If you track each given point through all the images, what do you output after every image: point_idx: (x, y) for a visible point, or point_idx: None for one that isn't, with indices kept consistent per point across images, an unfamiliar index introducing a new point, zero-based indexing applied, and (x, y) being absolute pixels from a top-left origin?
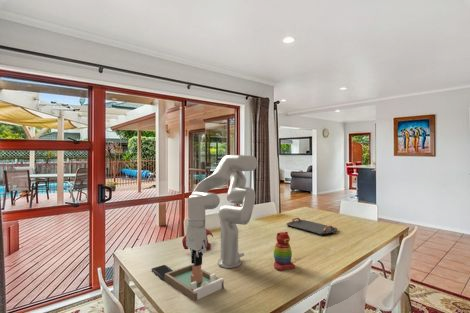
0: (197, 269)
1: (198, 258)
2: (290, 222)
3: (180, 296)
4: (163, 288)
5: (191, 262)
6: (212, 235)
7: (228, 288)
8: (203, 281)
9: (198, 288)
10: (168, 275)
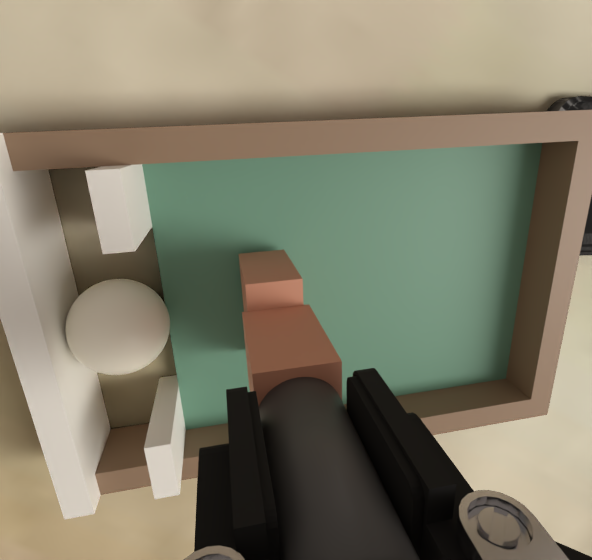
0: (250, 375)
1: (206, 535)
2: None
3: (183, 68)
4: (436, 16)
5: (374, 374)
6: None
7: None
8: None
9: None
10: (547, 123)
